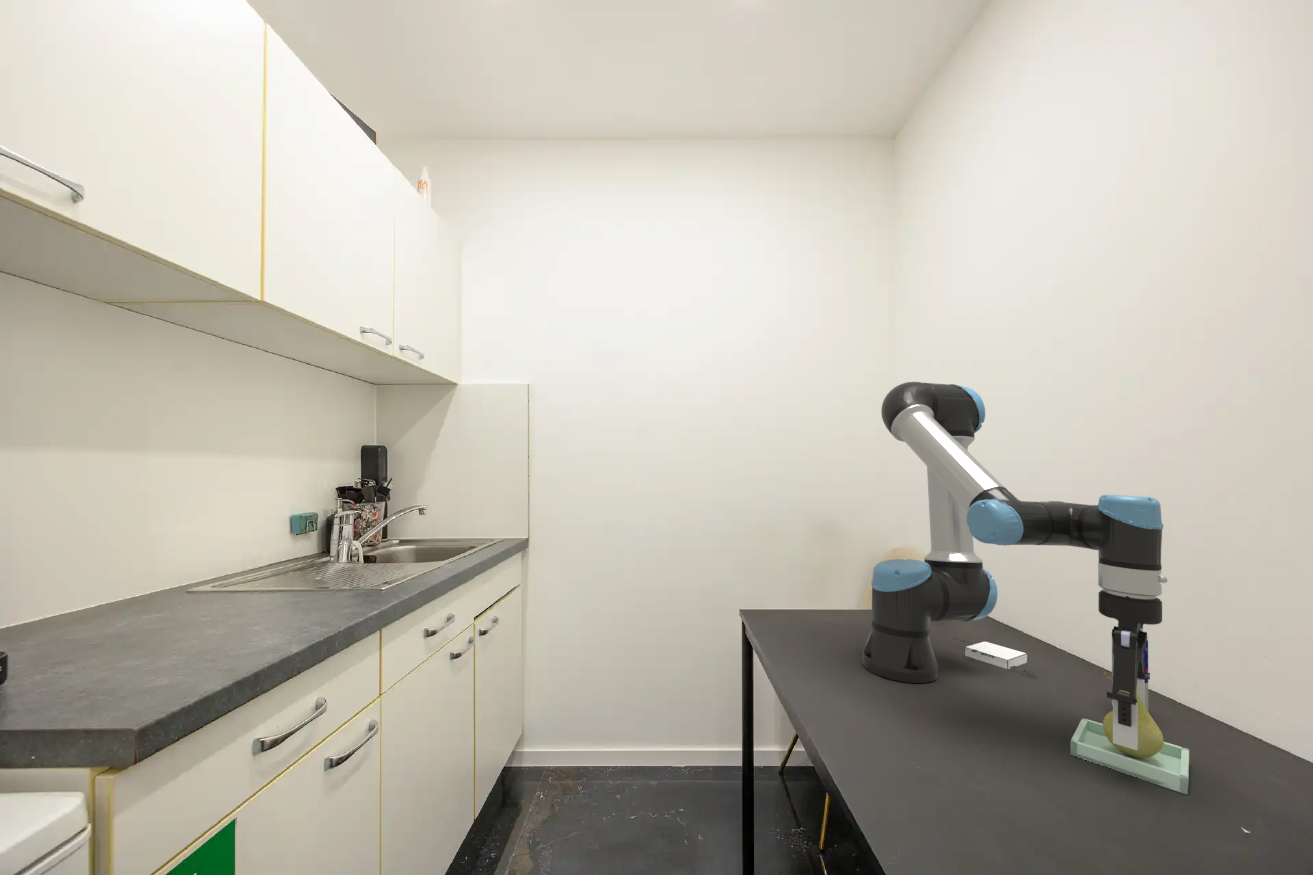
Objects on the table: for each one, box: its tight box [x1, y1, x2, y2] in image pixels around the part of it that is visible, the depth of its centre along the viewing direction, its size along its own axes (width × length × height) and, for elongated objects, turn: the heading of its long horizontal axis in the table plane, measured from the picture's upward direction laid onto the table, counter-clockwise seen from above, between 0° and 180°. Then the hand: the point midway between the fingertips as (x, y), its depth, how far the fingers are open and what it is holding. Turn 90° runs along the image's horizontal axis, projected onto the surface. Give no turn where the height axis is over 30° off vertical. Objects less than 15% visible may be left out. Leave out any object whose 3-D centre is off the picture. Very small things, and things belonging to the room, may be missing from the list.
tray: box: [1069, 717, 1190, 795], centre depth 83 cm, size 13×12×2 cm
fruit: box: [1102, 671, 1165, 758], centre depth 83 cm, size 7×8×12 cm
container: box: [952, 636, 1037, 676], centre depth 126 cm, size 20×12×3 cm, turn 33°
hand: (1129, 731), depth 83 cm, fingers open, 13 cm apart
